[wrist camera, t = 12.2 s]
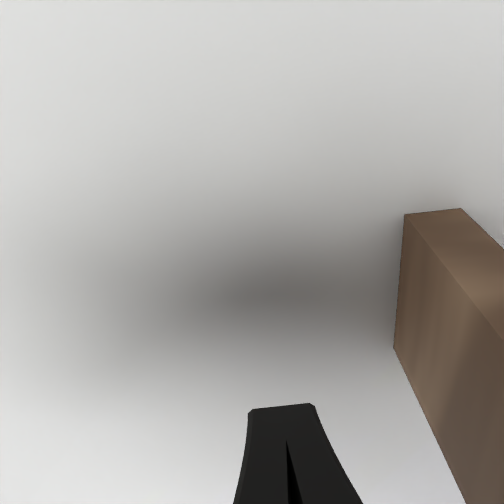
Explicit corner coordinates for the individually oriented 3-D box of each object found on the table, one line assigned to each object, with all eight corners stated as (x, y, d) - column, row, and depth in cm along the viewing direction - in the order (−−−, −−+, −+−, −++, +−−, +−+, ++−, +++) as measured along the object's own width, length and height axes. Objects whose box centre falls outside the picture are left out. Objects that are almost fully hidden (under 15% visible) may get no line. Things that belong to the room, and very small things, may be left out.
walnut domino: (461, 208, 13) (727, 462, 6) (440, 343, 16) (614, 629, 9) (404, 214, 13) (608, 475, 6) (393, 348, 16) (529, 638, 9)
